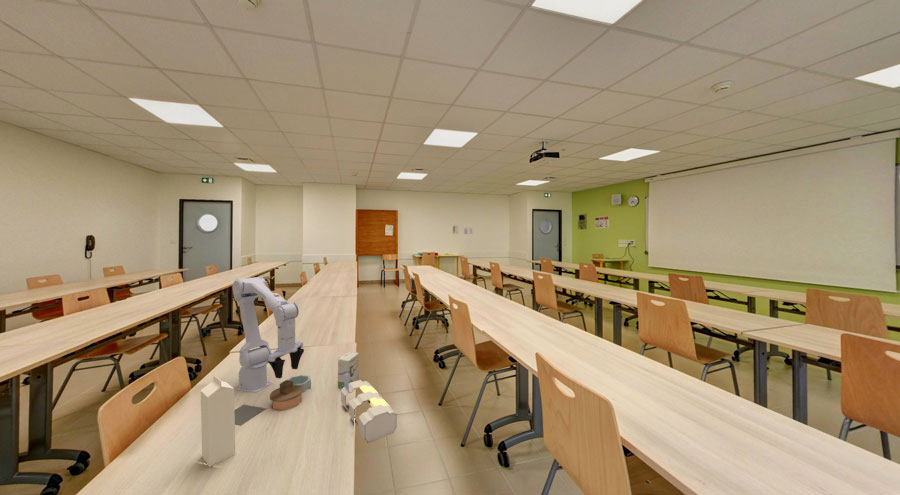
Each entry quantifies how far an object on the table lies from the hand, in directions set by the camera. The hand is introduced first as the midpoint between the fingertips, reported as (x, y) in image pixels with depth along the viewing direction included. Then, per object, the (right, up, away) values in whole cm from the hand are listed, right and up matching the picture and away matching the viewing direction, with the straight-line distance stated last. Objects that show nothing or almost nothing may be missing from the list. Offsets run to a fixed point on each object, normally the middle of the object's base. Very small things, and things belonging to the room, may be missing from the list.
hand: (287, 373), depth 113 cm
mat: (-10, -11, -9) cm, 17 cm away
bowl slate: (0, -10, +9) cm, 13 cm away
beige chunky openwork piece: (+32, -11, -10) cm, 36 cm away
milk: (-4, -12, -28) cm, 31 cm away
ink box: (+18, -10, +14) cm, 25 cm away
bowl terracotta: (+1, -10, -2) cm, 11 cm away
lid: (+1, -7, -2) cm, 7 cm away
